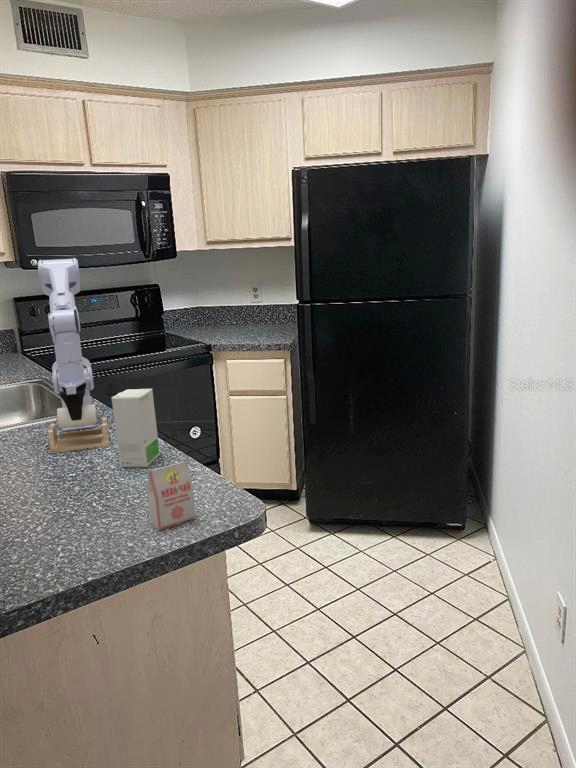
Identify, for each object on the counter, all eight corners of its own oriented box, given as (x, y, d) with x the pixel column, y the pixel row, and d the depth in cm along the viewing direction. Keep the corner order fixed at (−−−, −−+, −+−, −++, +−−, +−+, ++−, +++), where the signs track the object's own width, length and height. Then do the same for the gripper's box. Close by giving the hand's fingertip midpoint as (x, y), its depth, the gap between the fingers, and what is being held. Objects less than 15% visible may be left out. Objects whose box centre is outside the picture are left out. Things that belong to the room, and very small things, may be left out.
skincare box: (146, 468, 128) (139, 397, 124) (117, 467, 129) (109, 397, 125) (160, 454, 136) (154, 387, 132) (133, 454, 137) (125, 387, 133)
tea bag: (150, 522, 103) (144, 467, 101) (186, 511, 107) (181, 458, 104) (158, 530, 100) (152, 474, 98) (195, 518, 104) (190, 464, 101)
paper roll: (57, 429, 140) (55, 408, 140) (59, 427, 145) (57, 407, 144) (97, 424, 142) (95, 404, 142) (98, 422, 147) (96, 403, 147)
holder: (53, 442, 147) (50, 423, 146) (108, 435, 151) (106, 416, 149) (50, 453, 140) (47, 432, 138) (108, 445, 143) (106, 425, 142)
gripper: (86, 365, 134) (94, 423, 138) (88, 354, 148) (95, 407, 151) (53, 368, 133) (61, 426, 136) (58, 356, 146) (65, 410, 149)
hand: (77, 416), depth 143 cm, fingers closed on paper roll, 5 cm apart
